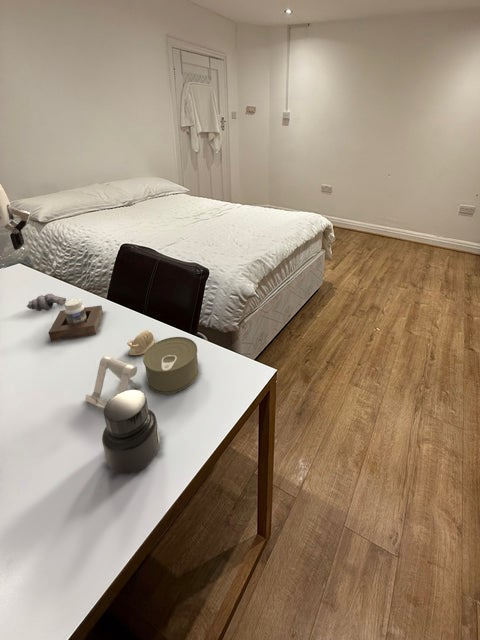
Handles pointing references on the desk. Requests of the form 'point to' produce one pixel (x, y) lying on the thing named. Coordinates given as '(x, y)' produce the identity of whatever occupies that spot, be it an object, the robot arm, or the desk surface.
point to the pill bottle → (75, 312)
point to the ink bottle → (129, 432)
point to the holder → (76, 325)
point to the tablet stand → (119, 369)
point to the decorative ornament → (141, 343)
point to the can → (171, 365)
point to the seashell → (45, 302)
